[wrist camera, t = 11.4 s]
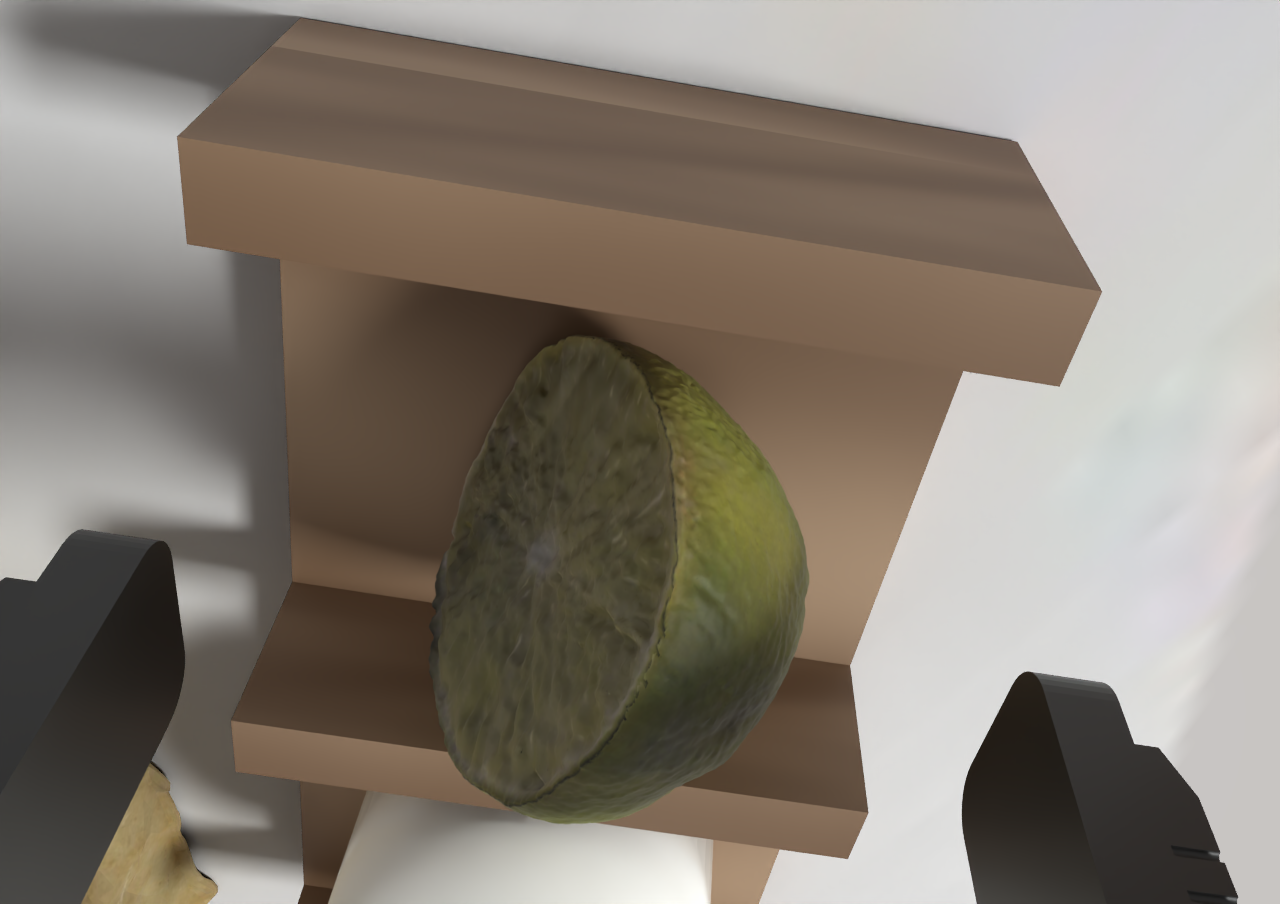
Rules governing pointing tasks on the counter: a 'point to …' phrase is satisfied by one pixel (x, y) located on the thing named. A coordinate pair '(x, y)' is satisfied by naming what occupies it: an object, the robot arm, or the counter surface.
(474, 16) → the counter surface
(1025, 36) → the counter surface
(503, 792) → the lime
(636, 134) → the rack
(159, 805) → the rock
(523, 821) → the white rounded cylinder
